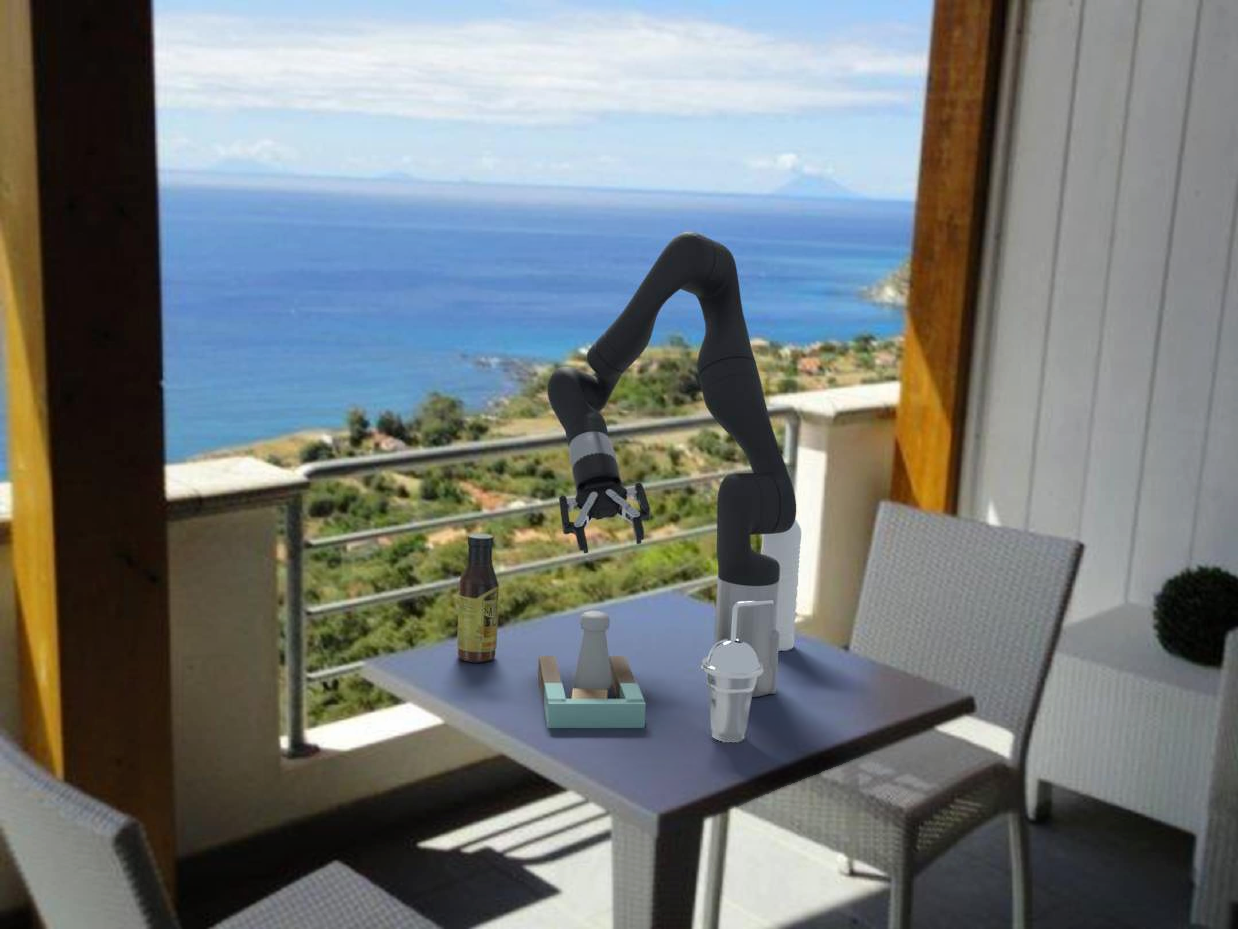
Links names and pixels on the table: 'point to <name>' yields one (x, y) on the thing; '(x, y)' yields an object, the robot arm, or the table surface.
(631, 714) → the teal u-shaped block
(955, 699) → the table surface
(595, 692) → the block
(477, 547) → the sauce bottle
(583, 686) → the salt shaker
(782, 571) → the water bottle
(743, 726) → the cup with straw
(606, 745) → the table surface
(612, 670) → the slot
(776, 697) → the table surface
